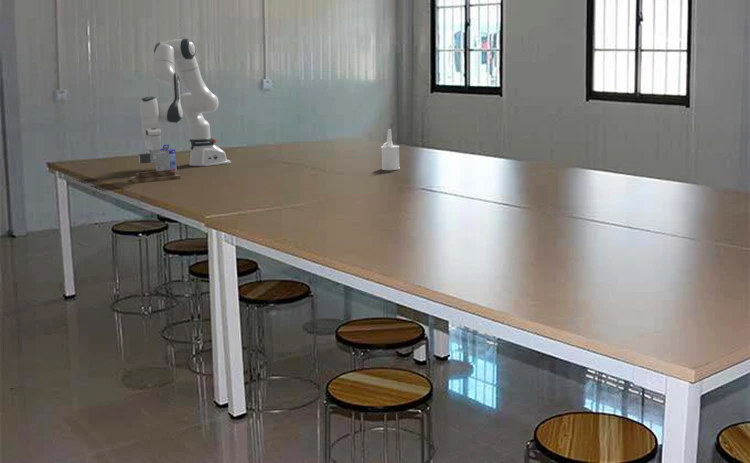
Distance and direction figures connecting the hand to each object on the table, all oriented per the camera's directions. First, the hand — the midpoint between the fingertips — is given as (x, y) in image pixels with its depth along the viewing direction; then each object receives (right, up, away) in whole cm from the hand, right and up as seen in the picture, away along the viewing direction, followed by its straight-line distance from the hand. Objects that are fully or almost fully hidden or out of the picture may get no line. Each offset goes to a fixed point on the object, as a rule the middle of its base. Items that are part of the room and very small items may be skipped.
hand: (153, 158), depth 447 cm
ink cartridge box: (+1, -6, +23) cm, 24 cm away
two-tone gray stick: (0, -2, 0) cm, 2 cm away
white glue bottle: (+117, -5, +9) cm, 117 cm away
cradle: (+1, -10, +2) cm, 10 cm away
